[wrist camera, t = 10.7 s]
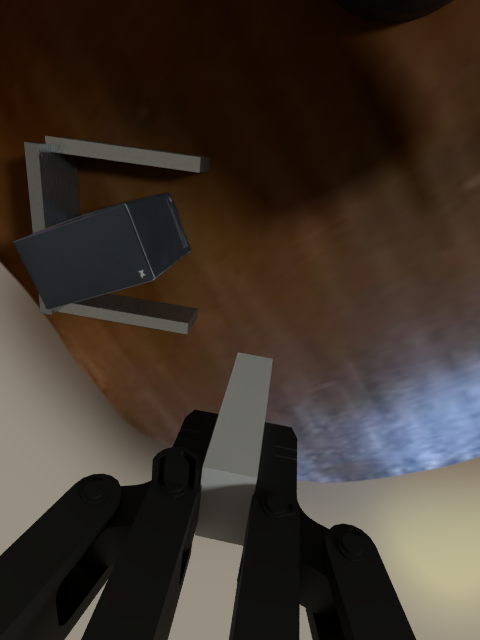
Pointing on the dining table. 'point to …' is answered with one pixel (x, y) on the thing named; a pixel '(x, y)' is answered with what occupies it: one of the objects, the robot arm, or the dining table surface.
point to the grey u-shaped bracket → (63, 204)
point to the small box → (104, 250)
